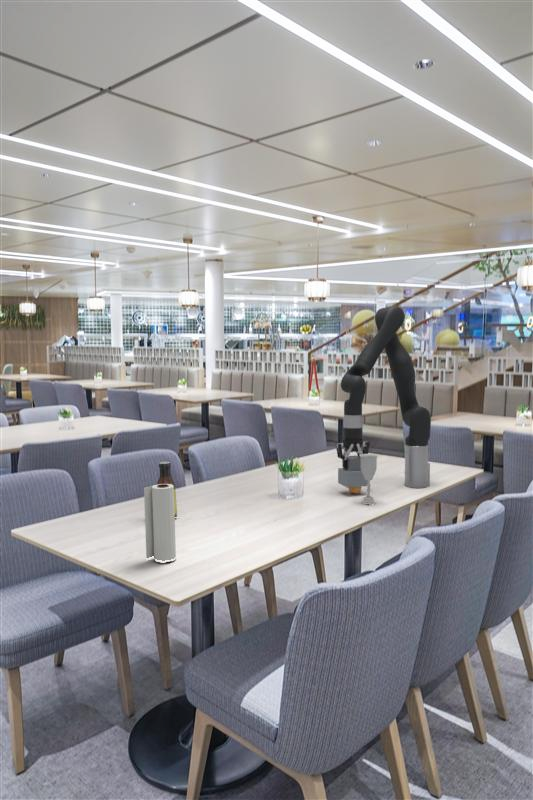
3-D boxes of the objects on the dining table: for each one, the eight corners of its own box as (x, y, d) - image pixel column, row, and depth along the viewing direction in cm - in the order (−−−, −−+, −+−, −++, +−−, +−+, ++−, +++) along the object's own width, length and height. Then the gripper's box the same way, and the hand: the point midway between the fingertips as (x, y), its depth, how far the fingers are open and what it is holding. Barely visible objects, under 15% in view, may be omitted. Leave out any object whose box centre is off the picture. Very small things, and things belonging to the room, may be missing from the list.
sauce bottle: (180, 517, 216) (178, 461, 214) (172, 522, 210) (170, 464, 208) (163, 515, 218) (161, 460, 216) (154, 520, 212) (153, 463, 210)
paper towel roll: (180, 558, 175) (177, 483, 173) (168, 565, 170) (166, 488, 168) (158, 555, 178) (156, 482, 176) (146, 562, 172) (143, 486, 170)
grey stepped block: (357, 481, 250) (357, 454, 249) (367, 485, 242) (367, 458, 241) (338, 482, 248) (338, 455, 247) (347, 487, 240) (347, 459, 239)
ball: (358, 481, 248) (347, 478, 247) (364, 483, 244) (353, 481, 242) (356, 493, 248) (345, 491, 247) (361, 495, 244) (350, 493, 242)
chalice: (377, 506, 226) (377, 457, 225) (358, 505, 228) (358, 457, 226) (378, 501, 234) (378, 454, 232) (359, 500, 235) (359, 453, 233)
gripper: (364, 424, 249) (364, 465, 250) (332, 425, 244) (332, 467, 246) (373, 426, 242) (373, 469, 243) (340, 428, 237) (340, 471, 239)
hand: (352, 468), depth 244 cm, fingers closed on grey stepped block, 5 cm apart
